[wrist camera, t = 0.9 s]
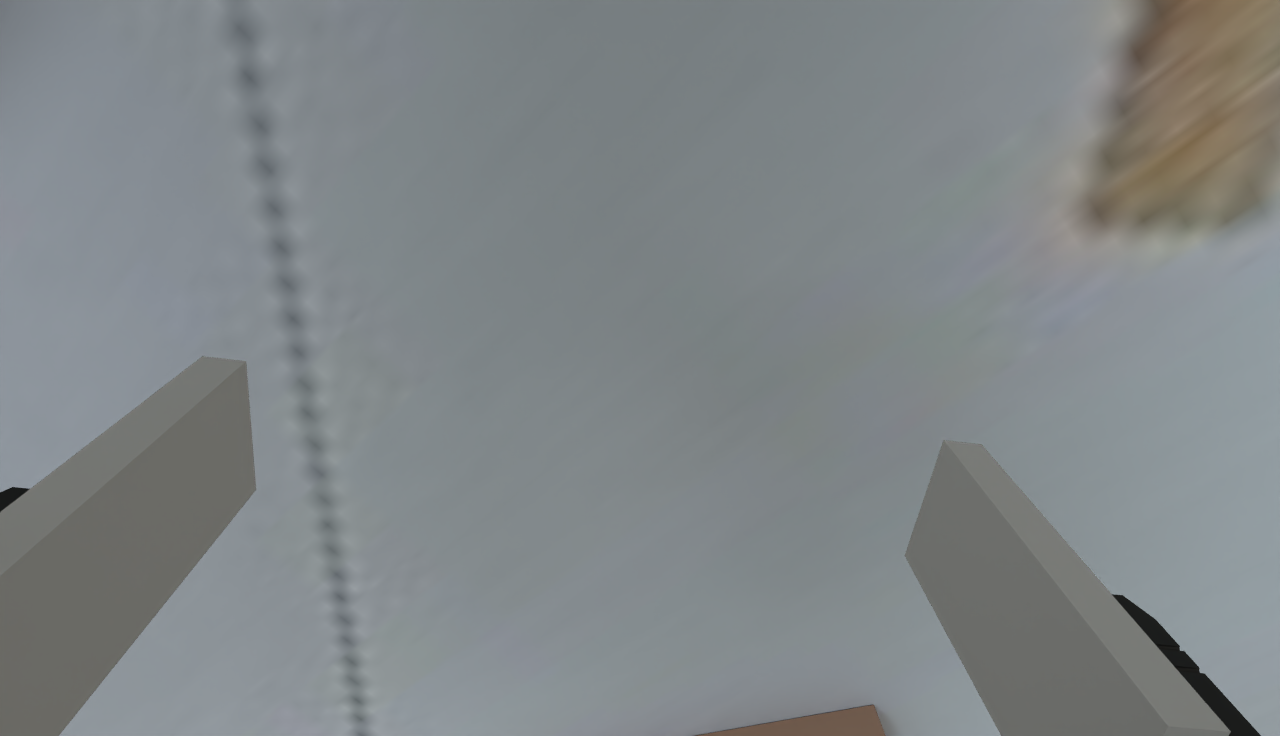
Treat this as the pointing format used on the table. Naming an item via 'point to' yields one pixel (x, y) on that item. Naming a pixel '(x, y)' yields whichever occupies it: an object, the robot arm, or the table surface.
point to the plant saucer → (817, 725)
